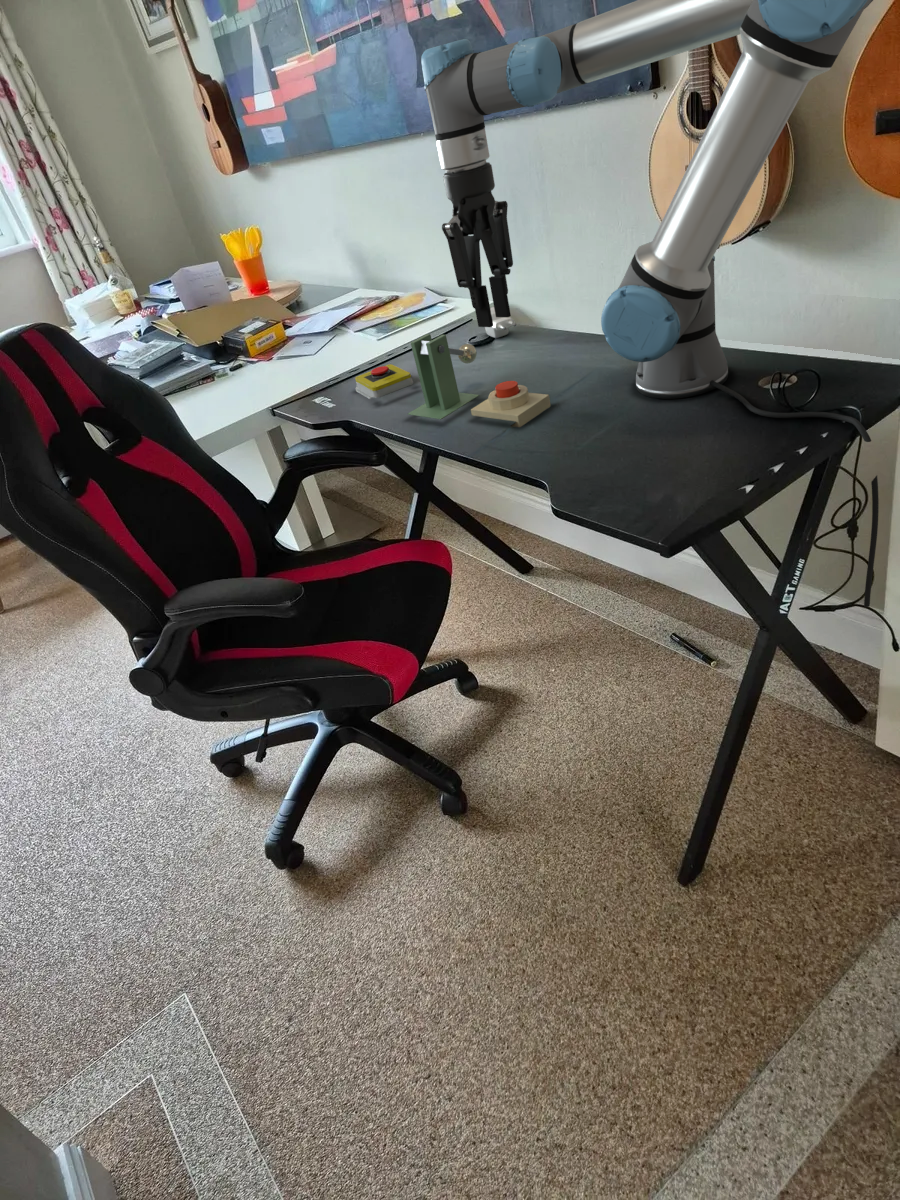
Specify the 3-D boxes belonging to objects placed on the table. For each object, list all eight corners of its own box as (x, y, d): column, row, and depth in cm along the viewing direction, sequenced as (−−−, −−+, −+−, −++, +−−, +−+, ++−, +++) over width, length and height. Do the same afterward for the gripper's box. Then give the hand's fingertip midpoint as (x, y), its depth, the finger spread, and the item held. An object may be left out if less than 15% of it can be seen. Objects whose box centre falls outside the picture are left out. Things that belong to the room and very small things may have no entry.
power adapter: (522, 338, 174) (518, 311, 171) (503, 345, 173) (498, 318, 170) (501, 329, 183) (497, 304, 180) (483, 335, 182) (478, 310, 179)
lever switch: (465, 363, 152) (467, 344, 151) (479, 364, 149) (481, 345, 148) (417, 357, 142) (418, 336, 141) (430, 358, 140) (432, 337, 139)
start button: (523, 391, 137) (522, 381, 136) (509, 400, 135) (508, 390, 134) (506, 389, 140) (504, 379, 139) (492, 398, 138) (490, 388, 137)
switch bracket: (447, 396, 154) (431, 327, 146) (480, 400, 148) (465, 328, 141) (408, 419, 148) (390, 348, 141) (442, 424, 143) (424, 351, 135)
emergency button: (387, 356, 170) (415, 369, 158) (392, 375, 172) (420, 390, 161) (348, 371, 167) (375, 385, 156) (354, 390, 170) (380, 405, 158)
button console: (550, 406, 138) (547, 384, 136) (519, 427, 134) (515, 405, 132) (503, 400, 146) (500, 380, 143) (472, 420, 141) (468, 400, 139)
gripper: (446, 178, 111) (478, 340, 124) (520, 150, 119) (542, 304, 132) (410, 183, 115) (445, 338, 128) (483, 155, 124) (509, 304, 137)
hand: (494, 321), depth 130 cm, fingers open, 4 cm apart
